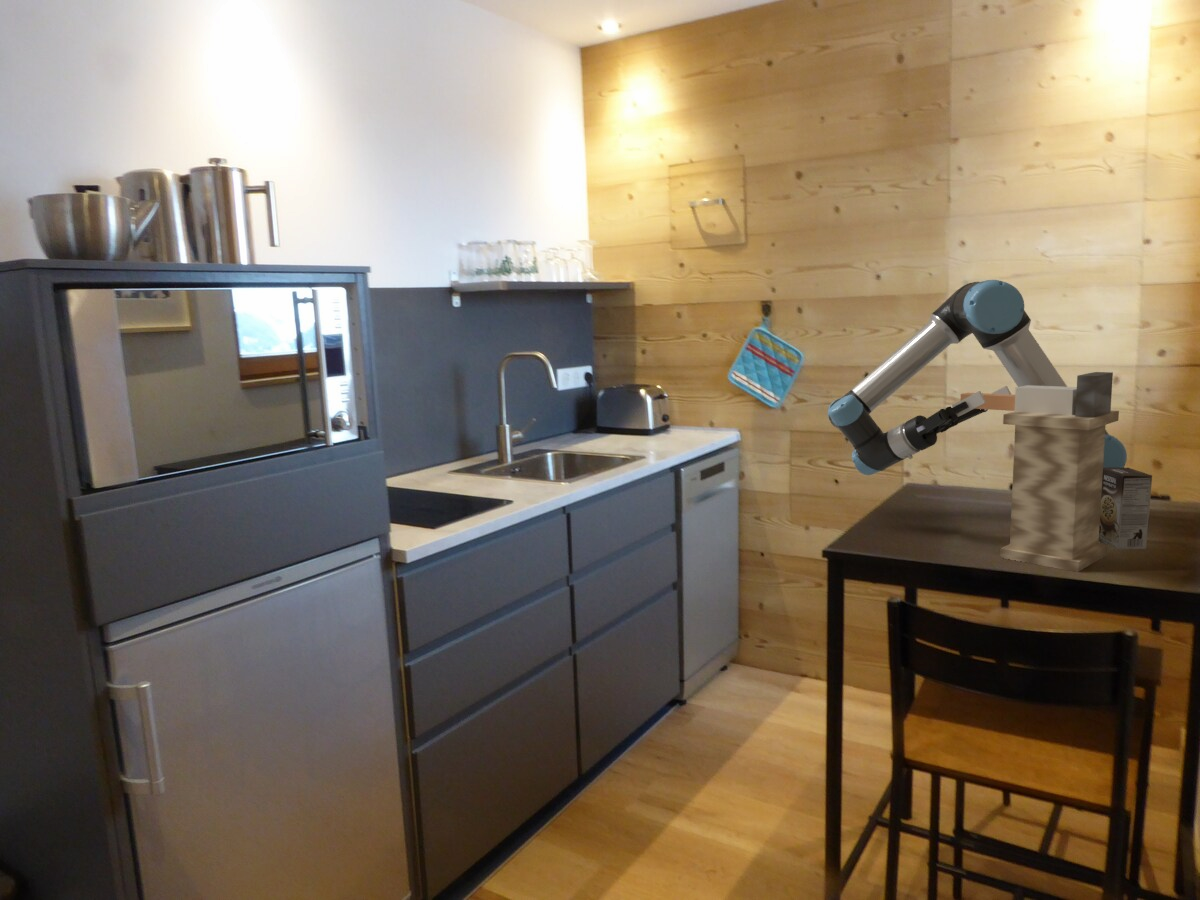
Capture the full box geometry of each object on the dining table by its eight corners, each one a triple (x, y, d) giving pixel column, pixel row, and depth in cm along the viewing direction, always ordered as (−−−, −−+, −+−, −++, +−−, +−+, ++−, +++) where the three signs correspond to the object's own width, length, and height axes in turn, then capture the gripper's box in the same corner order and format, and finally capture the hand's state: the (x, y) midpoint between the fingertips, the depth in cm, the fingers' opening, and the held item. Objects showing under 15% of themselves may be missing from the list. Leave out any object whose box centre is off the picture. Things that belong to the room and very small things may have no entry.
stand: (997, 557, 181) (1005, 374, 176) (1029, 541, 193) (1038, 369, 187) (1080, 572, 170) (1091, 377, 164) (1110, 554, 181) (1121, 371, 175)
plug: (957, 408, 189) (958, 385, 188) (969, 405, 193) (970, 383, 192) (1076, 415, 172) (1077, 390, 171) (1086, 412, 176) (1088, 387, 175)
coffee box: (1094, 538, 193) (1098, 467, 191) (1123, 538, 193) (1128, 466, 191) (1117, 550, 184) (1121, 475, 182) (1148, 549, 184) (1153, 474, 182)
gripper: (945, 444, 208) (1027, 404, 193) (893, 458, 192) (978, 415, 177) (931, 416, 210) (1011, 374, 195) (878, 428, 193) (961, 383, 178)
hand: (996, 394), depth 186 cm, fingers open, 13 cm apart
